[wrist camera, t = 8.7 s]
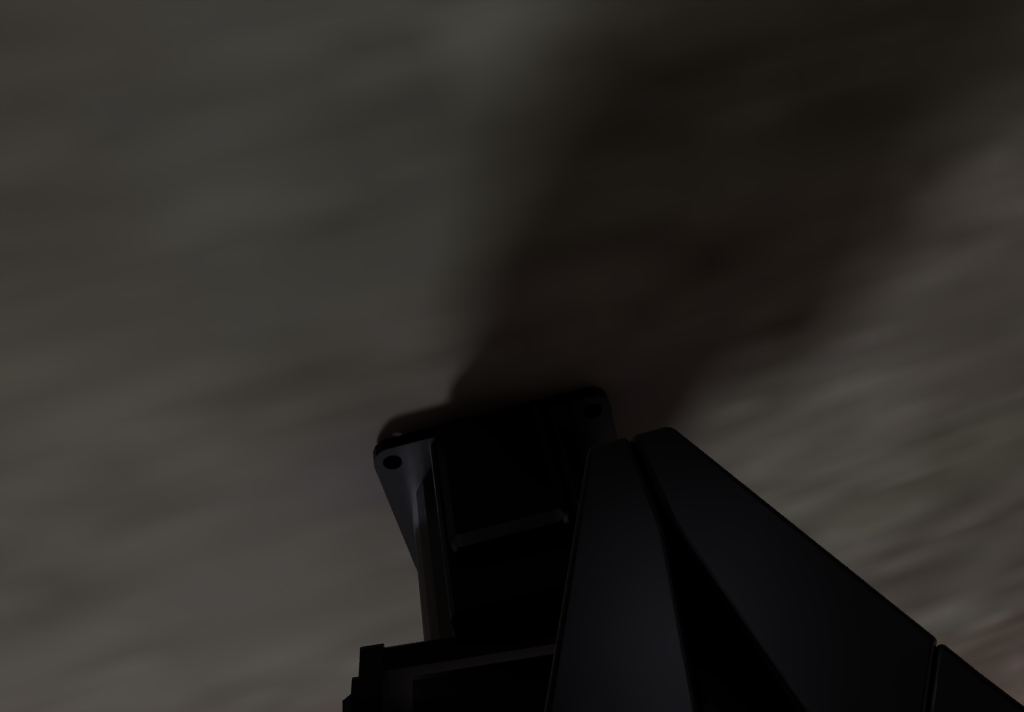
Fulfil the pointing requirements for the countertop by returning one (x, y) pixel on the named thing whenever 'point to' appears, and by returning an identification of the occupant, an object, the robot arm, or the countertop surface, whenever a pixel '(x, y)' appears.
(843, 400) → the countertop surface
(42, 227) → the countertop surface
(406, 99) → the countertop surface
